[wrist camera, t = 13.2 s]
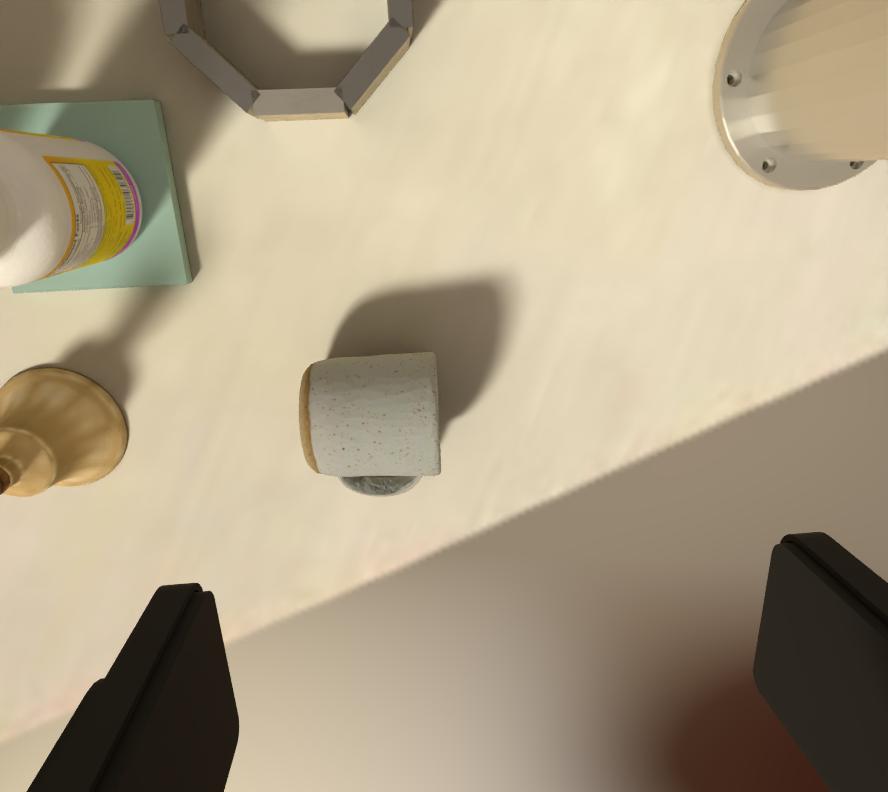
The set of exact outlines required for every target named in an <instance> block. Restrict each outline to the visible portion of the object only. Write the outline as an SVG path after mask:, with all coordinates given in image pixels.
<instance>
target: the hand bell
mask: <svg viewBox="0 0 888 792" xmlns="http://www.w3.org/2000/svg"><path fill="white" fill-rule="evenodd" d="M126 443H127V429H126V424H125V421H124V418H123V415H122V413H121V411H120V409H119V407H118V405H117V404H116V403H115V401H114V400H113V398H112V397H111V396H110V395H109V394H108V393H107V392H106V391H105V390H104V389H102V388H101V387H100V386H99V385H97V384H96V383H94V382H93V381H91V380H89V379H87V378H86V377H84V376H82V375H79V374H77V373H74V372H71V371H67V370H63V369H57V368H42V369H33V370H29V371H26V372H23V373H21V374H19V375H17V376H15V377H13V378H12V379H10V380H9V381H8V382H7V383H5V384H4V385H3V386H2V388H1V389H0V495H1V494H2V493H3V494H6V495H10V496H16V497H27V496H33V495H37V494H39V493H41V492H43V491H45V490H46V489H48V488H49V487H51V486H52V485H56V486H79V485H85V484H89V483H92V482H95V481H97V480H99V479H101V478H103V477H105V476H106V475H108V474H109V473H110V472H111V471H112V470H113V469H114V468H115V467H116V466H117V465H118V464H119V462H120V461H121V459H122V457H123V454H124V452H125V449H126Z"/></svg>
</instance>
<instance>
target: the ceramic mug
mask: <svg viewBox="0 0 888 792" xmlns="http://www.w3.org/2000/svg"><path fill="white" fill-rule="evenodd" d="M299 423H300V436H301V442H302V447H303V451H304V455H305V459H306V461H307V463H308V465H309V466H310V467H311V468H312V469H313V470H314V471H315V472H316V473H320V474H324V475H330V476H338V478H339V480H340V481H341V482H342V483H343V485H344V486H346V487H347V488H349V489H351V490H352V491H355V492H357V493H360V494H364V495H369V496H393V495H398V494H401V493H404V492H407V491H408V490H410V489H411V488H413V487H414V486H415V485H416V484H417V483H418V482H419V480H420V479H421V477H422V476H436V475H439V474H440V472H441V457H440V452H441V450H440V435H439V431H440V430H439V402H438V387H437V370H436V355H435V353H434V352H432V351H431V352H417V353H402V354H383V355H374V356H360V357H338V358H331V359H327V360H322V361H318V362H316V363H313V364H311V365H310V366H309V367H308V368H307V370H306V371H305V373H304V374H303V378H302V381H301V387H300V396H299ZM371 476H372V477H371ZM380 476H393V477H380Z"/></svg>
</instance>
